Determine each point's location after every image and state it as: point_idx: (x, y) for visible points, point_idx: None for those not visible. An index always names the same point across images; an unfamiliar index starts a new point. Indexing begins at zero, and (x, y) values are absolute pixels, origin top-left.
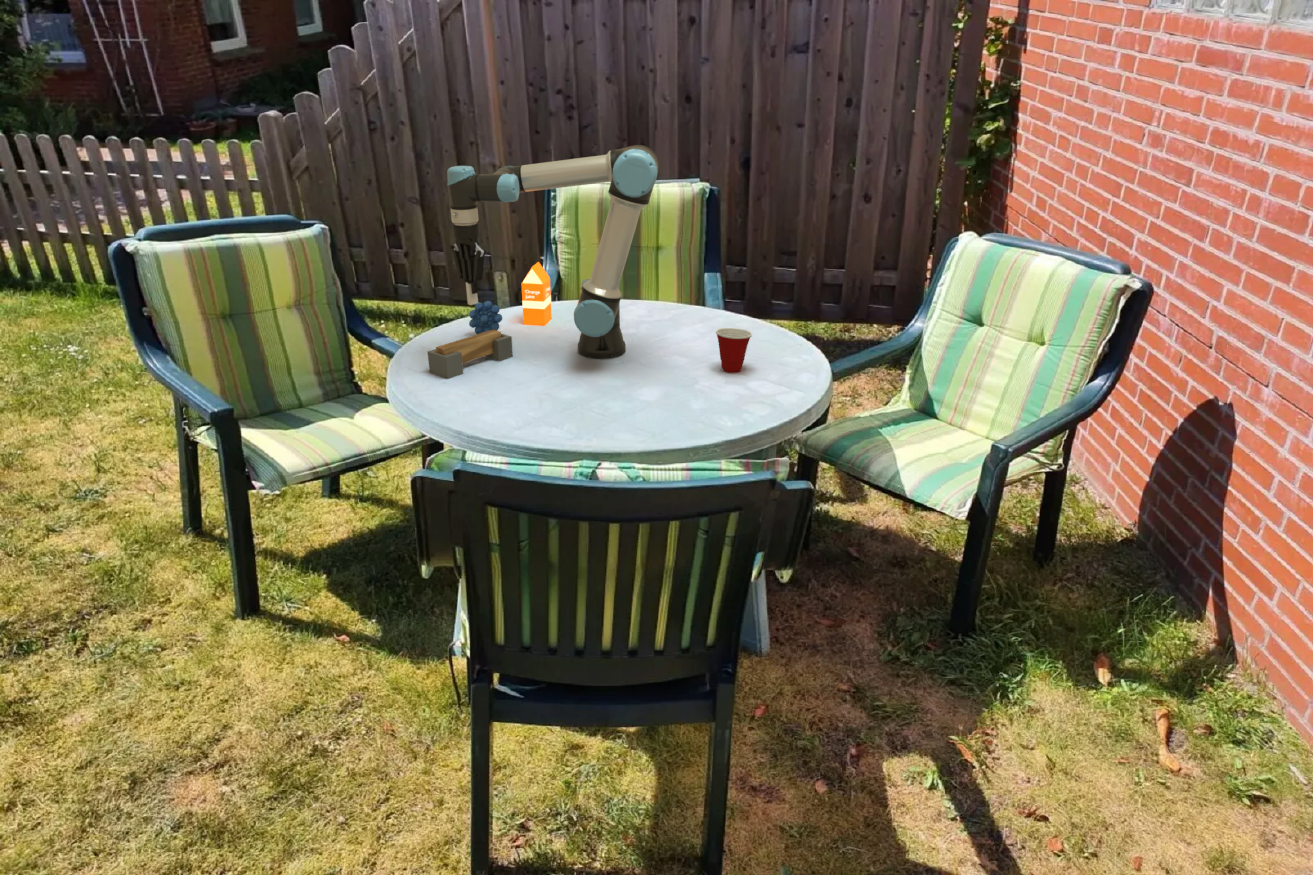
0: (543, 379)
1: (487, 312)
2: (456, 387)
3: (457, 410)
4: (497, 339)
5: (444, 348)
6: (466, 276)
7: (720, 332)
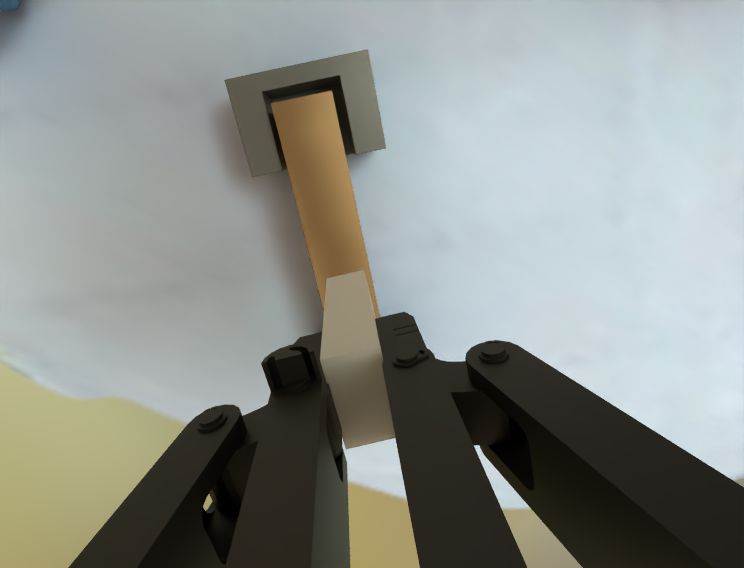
0: (645, 117)
1: None
2: None
3: None
4: (365, 136)
5: None
6: (344, 484)
7: None
